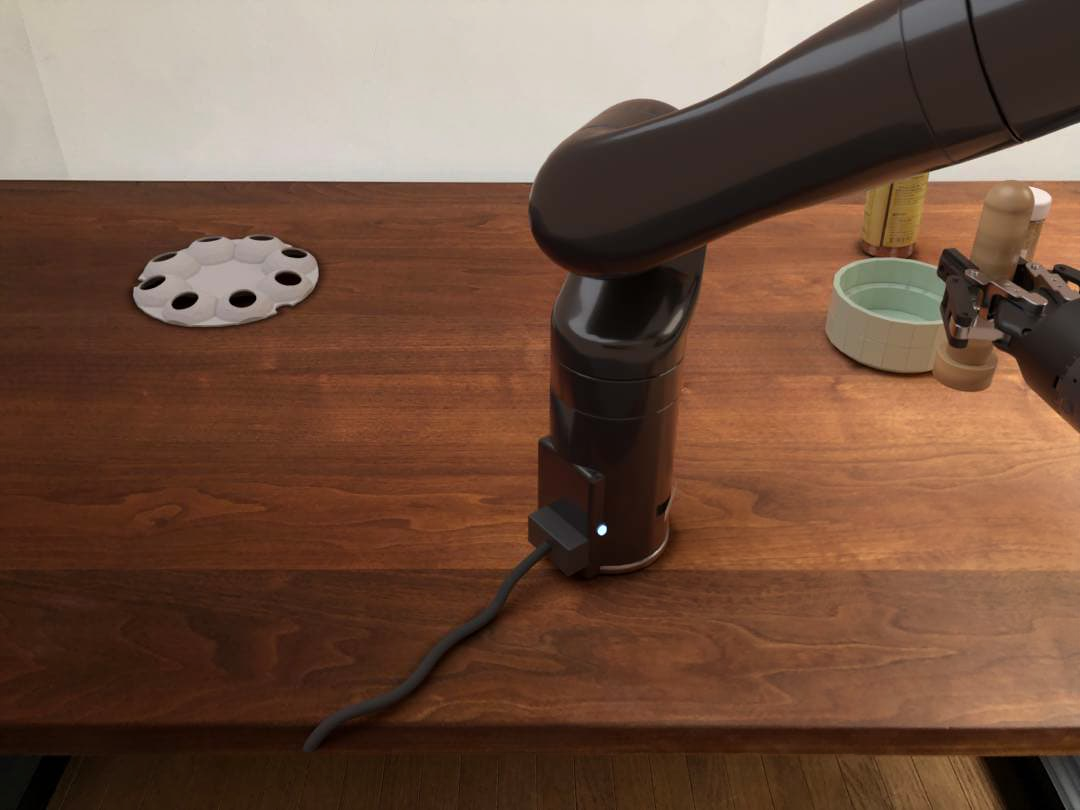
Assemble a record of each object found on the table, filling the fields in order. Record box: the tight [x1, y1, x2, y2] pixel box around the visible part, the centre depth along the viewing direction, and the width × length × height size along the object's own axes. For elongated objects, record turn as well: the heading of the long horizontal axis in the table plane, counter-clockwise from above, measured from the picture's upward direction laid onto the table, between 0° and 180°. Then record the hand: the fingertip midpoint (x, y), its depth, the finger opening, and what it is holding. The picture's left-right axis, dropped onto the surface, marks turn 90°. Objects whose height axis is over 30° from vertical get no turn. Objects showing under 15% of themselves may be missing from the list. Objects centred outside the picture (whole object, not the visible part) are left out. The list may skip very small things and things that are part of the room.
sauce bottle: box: [860, 172, 931, 259], centre depth 116 cm, size 7×6×20 cm
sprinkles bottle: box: [1020, 185, 1053, 262], centre depth 106 cm, size 5×5×14 cm
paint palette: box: [132, 233, 320, 328], centre depth 114 cm, size 20×20×2 cm
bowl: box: [824, 257, 948, 374], centre depth 103 cm, size 13×13×6 cm
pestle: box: [931, 179, 1035, 393], centre depth 77 cm, size 4×4×16 cm
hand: (968, 257), depth 79 cm, fingers closed on pestle, 3 cm apart
